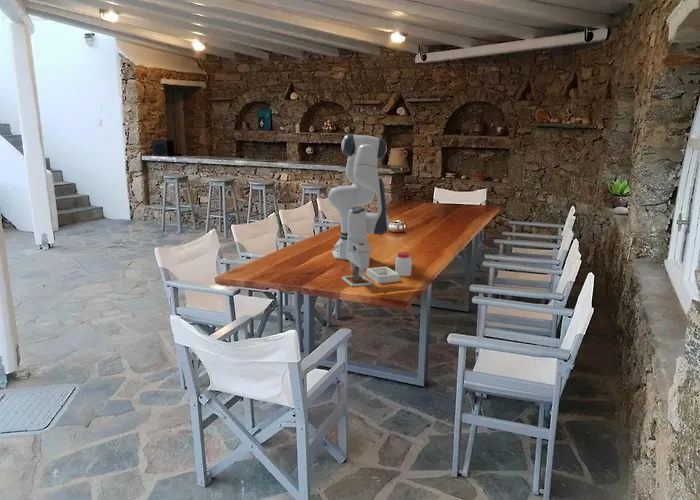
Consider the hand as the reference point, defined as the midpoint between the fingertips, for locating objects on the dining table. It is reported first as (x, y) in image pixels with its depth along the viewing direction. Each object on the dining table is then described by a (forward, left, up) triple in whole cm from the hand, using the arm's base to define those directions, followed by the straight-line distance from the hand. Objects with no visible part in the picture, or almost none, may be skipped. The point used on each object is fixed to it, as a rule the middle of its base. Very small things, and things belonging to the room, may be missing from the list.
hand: (357, 273), depth 243 cm
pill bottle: (-4, +25, -5) cm, 26 cm away
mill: (0, 0, -4) cm, 4 cm away
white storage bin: (-1, +13, -4) cm, 14 cm away
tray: (0, 0, -4) cm, 4 cm away
